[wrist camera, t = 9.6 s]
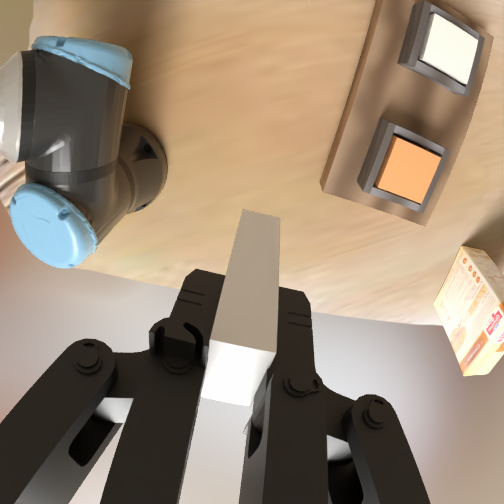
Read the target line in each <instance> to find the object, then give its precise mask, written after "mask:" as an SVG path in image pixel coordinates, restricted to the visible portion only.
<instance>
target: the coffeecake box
mask: <svg viewBox="0 0 504 504" xmlns="http://www.w3.org/2000/svg"><path fill="white" fill-rule="evenodd" d="M433 305H434V307H435V309H436V311H437V313H438V315H439V317H440V320H441V322H442V324H443V326H444V328H445V331H446V333H447V335H448V338H449V340H450V342H451V345H452V347H453V349H454V352H455V354H456V357H457V359H458V362H459V364H460V367H461V370H462V372H463V375H464V376H469V375H484V374H488V373H489V372H490V370H491V369H492V368H493V367H494V366H495V364H496V363H497V362H498V361H499V359H500V358H501V357H502V355H503V354H504V275H503V274H502V272H501V271H500V270H499V269H498V267H497V266H496V265H495V263H494V262H493V261H492V260H491V258H490V257H489V256H488V255H487V253H486V252H485V251H484V250H481V249H475V248H470V247H466V246H461V247H460V250H459V252H458V254H457V256H456V259H455V261H454V263H453V265H452V267H451V269H450V271H449V274H448V276H447V278H446V280H445V282H444V284H443V286H442V288H441V290H440V292H439V294H438V296H437V297H436V299H435V301H434V303H433Z"/></svg>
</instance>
